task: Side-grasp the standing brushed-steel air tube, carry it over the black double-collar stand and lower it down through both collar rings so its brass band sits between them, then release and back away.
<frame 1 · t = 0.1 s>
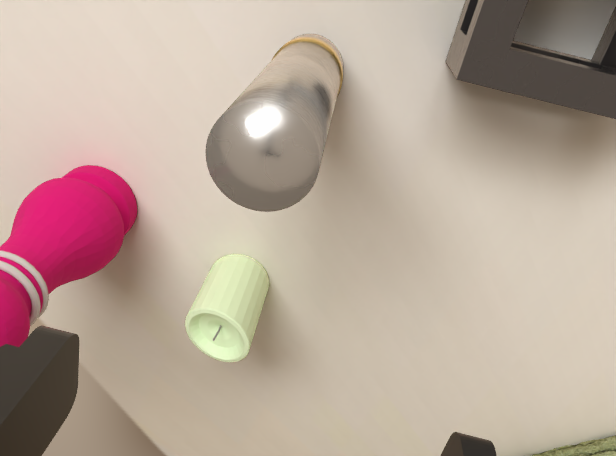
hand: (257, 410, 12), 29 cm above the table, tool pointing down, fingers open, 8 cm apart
pepper mill: (100, 200, 44), on the table
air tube: (310, 68, 37), on the table
candle: (239, 278, 46), on the table
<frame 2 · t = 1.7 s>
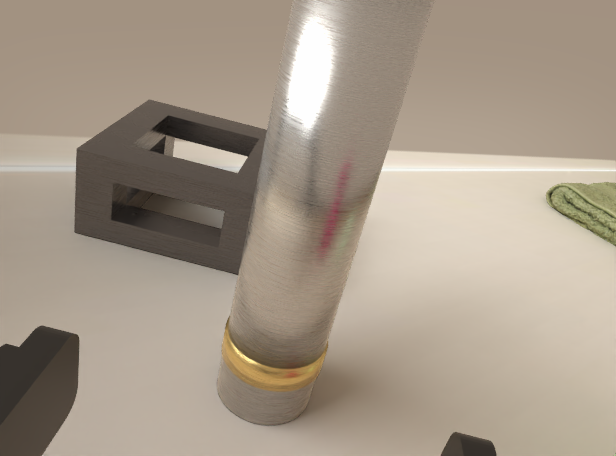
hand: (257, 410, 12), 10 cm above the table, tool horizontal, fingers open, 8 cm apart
collar stand: (189, 215, 38), on the table
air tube: (263, 387, 26), on the table
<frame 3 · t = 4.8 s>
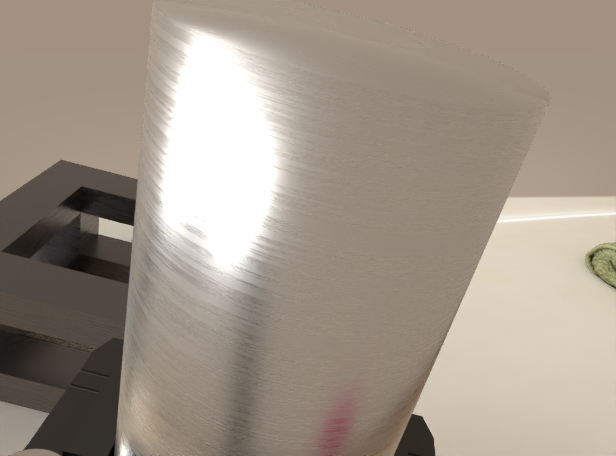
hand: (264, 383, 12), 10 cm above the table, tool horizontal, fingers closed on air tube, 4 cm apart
collar stand: (111, 329, 27), on the table
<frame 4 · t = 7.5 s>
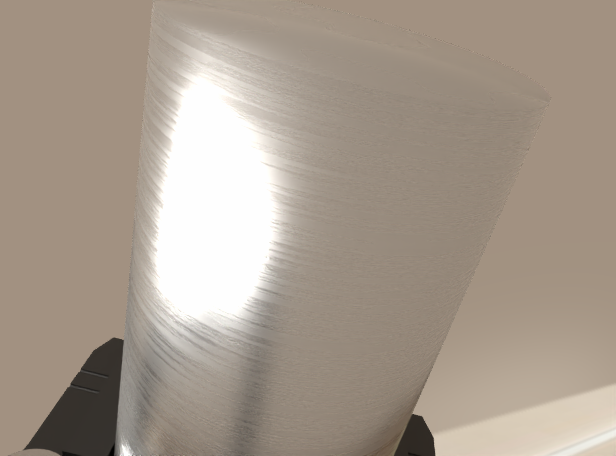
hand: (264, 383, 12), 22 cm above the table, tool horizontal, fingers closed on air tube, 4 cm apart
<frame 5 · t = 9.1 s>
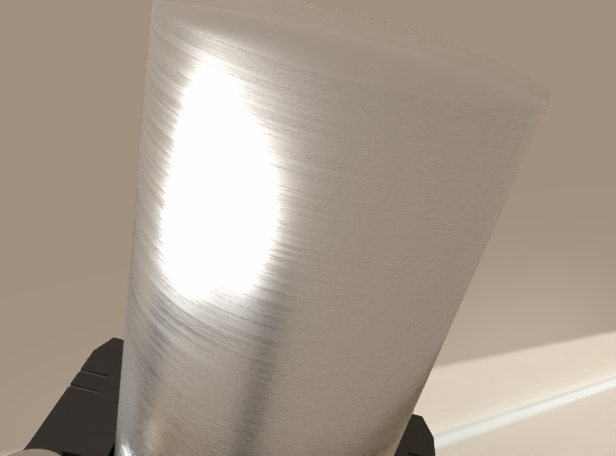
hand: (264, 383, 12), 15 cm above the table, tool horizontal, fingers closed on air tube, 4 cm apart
when the fingers open (11 cm above the table, at t = 10.3 s): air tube drops 1 cm, resting in collar stand.
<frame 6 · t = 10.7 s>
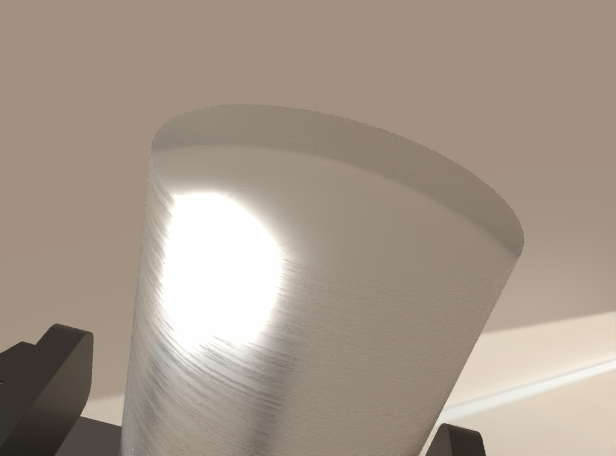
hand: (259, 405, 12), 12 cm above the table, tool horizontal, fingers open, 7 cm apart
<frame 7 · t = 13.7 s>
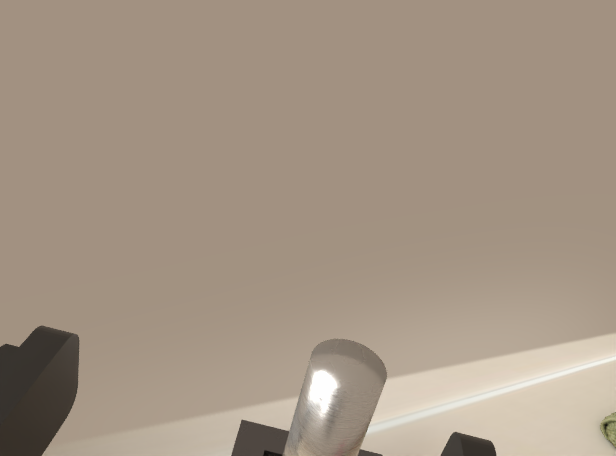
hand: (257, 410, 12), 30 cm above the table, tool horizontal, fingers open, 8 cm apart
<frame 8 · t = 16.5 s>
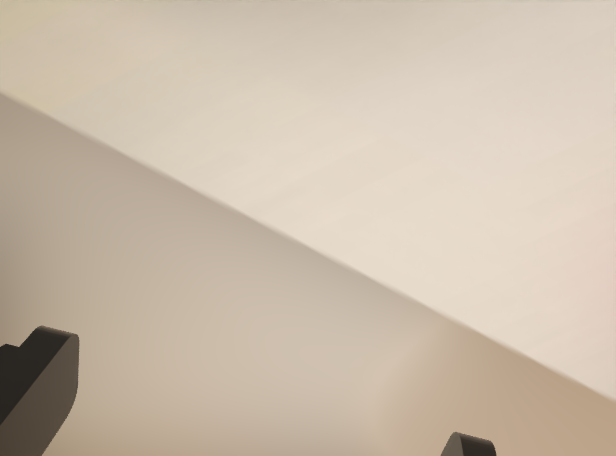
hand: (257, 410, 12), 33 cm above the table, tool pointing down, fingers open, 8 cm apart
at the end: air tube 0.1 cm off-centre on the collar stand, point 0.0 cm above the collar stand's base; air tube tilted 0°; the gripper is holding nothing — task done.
